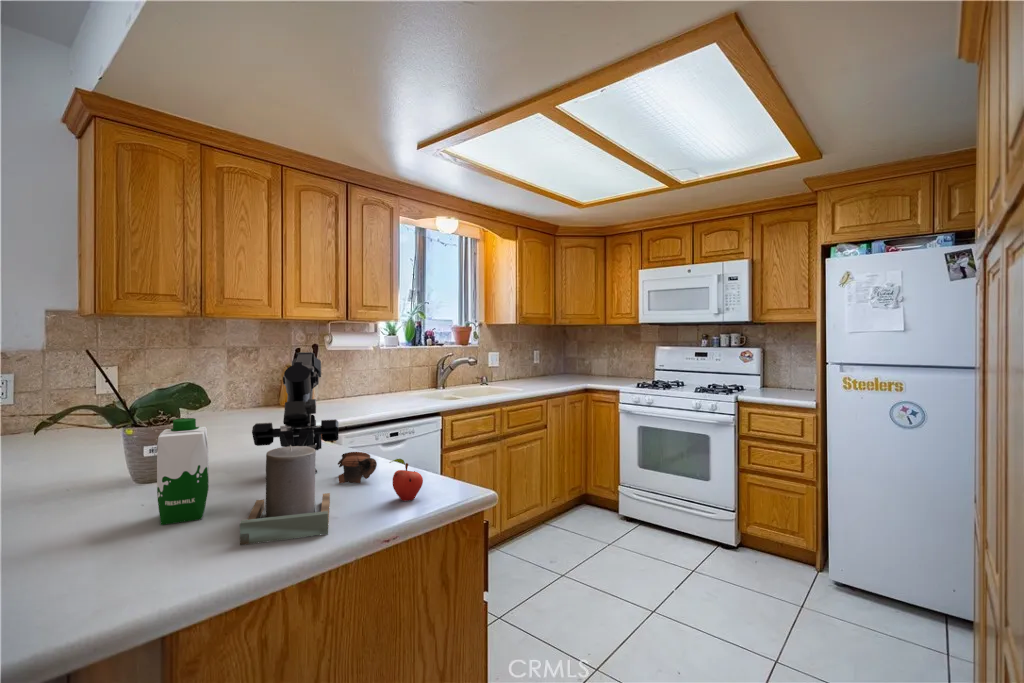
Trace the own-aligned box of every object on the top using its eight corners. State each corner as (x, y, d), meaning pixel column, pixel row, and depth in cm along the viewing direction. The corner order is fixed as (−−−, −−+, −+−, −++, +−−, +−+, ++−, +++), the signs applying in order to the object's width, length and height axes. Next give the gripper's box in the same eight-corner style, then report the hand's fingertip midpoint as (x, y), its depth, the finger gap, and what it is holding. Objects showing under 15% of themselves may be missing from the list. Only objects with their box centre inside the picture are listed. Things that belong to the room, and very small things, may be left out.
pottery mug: (327, 485, 125) (331, 453, 129) (351, 491, 132) (354, 461, 136) (365, 478, 121) (367, 445, 125) (388, 485, 128) (390, 454, 132)
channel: (256, 509, 106) (256, 491, 106) (329, 501, 111) (329, 484, 111) (239, 545, 89) (239, 523, 89) (327, 534, 94) (327, 513, 94)
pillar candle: (254, 522, 99) (255, 449, 99) (283, 505, 109) (284, 438, 108) (299, 526, 98) (299, 452, 97) (324, 508, 107) (325, 441, 107)
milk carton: (210, 506, 108) (209, 416, 107) (206, 520, 100) (205, 423, 99) (161, 512, 104) (161, 419, 103) (153, 528, 96) (153, 427, 95)
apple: (408, 492, 118) (408, 451, 118) (428, 498, 114) (428, 455, 114) (383, 501, 112) (383, 458, 112) (403, 507, 108) (403, 463, 108)
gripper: (253, 389, 113) (244, 446, 103) (338, 386, 119) (338, 440, 109) (258, 417, 121) (251, 473, 110) (338, 413, 127) (338, 466, 117)
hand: (295, 463), depth 111 cm, fingers closed
